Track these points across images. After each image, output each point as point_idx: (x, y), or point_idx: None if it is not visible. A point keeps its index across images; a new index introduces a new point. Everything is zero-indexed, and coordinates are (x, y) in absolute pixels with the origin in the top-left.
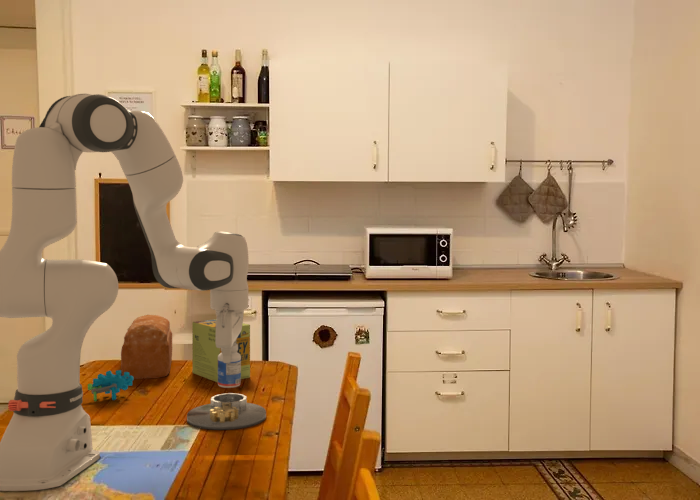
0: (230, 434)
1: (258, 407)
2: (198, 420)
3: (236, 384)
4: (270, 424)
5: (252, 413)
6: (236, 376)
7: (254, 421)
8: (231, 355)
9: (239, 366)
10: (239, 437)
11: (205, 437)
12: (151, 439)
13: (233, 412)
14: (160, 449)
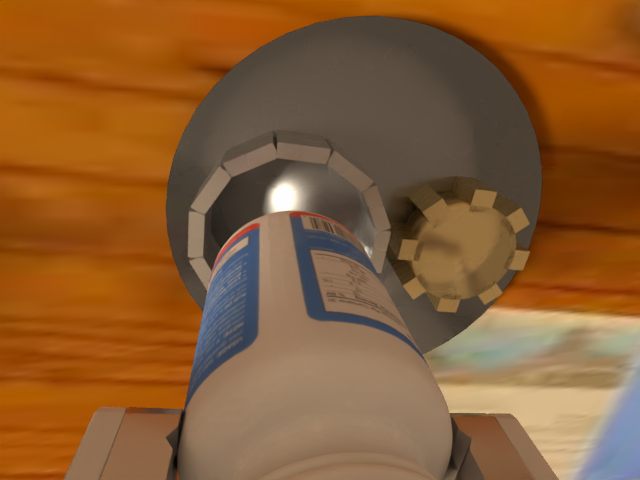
0: (579, 200)
1: (298, 58)
2: (441, 328)
3: (358, 241)
4: (518, 5)
5: (406, 101)
6: (374, 270)
7: (515, 95)
8: (479, 466)
9: (368, 292)
10: (630, 166)
11: (571, 284)
12: (520, 420)
13: (522, 212)
14: (617, 389)
